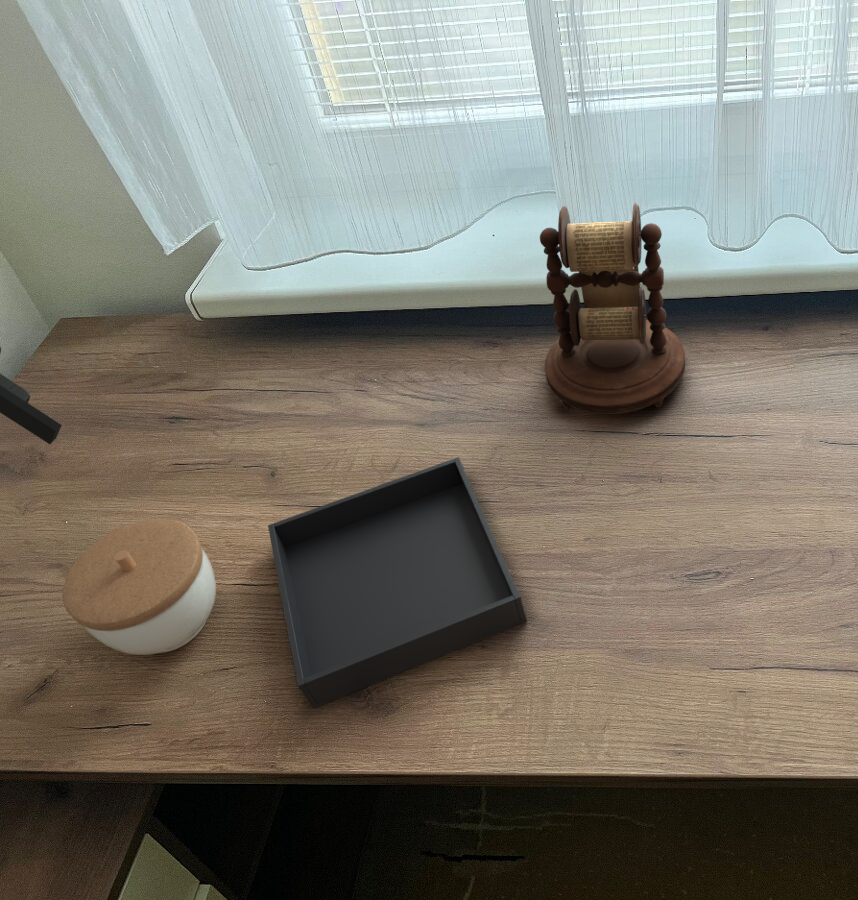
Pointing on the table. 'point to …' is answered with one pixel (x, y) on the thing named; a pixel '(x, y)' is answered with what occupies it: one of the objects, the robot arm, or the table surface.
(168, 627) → the trinket box
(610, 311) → the scroll
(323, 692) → the tray
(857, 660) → the table surface
